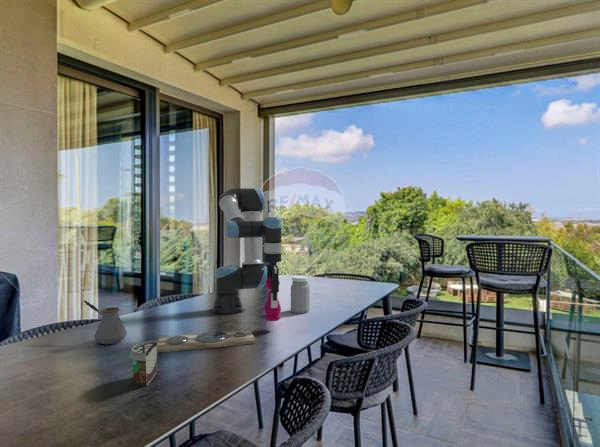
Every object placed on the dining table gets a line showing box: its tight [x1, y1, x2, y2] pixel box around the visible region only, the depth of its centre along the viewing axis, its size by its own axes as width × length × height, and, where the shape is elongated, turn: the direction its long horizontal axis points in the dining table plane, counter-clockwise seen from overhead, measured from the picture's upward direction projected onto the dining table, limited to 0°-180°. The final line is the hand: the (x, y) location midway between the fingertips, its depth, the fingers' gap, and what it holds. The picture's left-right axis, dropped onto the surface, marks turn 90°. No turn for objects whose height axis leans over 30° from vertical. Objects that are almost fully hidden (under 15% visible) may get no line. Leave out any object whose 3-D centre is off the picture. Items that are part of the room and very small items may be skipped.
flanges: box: [196, 331, 246, 343], centre depth 147 cm, size 12×19×1 cm, turn 106°
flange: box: [166, 335, 188, 344], centre depth 142 cm, size 8×8×1 cm
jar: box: [290, 275, 311, 314], centre depth 192 cm, size 10×10×18 cm
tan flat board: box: [157, 328, 256, 354], centre depth 145 cm, size 14×36×2 cm, turn 106°
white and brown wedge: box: [129, 339, 158, 387], centre depth 112 cm, size 12×6×10 cm, turn 5°
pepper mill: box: [263, 277, 282, 322], centre depth 160 cm, size 7×7×20 cm
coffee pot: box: [81, 300, 128, 345], centre depth 147 cm, size 21×12×15 cm, turn 66°
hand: (272, 305), depth 161 cm, fingers closed on pepper mill, 6 cm apart
